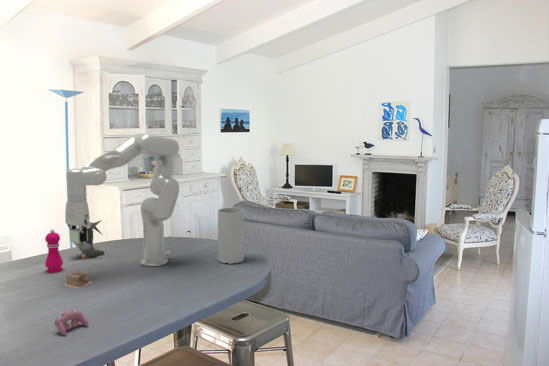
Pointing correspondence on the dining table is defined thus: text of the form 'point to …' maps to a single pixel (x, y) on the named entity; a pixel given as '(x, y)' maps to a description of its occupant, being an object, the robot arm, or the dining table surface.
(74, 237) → the sage block
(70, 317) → the video game controller
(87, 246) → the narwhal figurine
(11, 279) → the dining table surface
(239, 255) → the cylinder vase
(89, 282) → the cream wavy board
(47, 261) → the pepper mill
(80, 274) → the walnut base block
